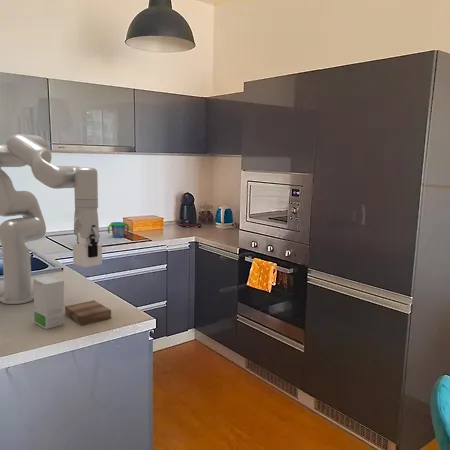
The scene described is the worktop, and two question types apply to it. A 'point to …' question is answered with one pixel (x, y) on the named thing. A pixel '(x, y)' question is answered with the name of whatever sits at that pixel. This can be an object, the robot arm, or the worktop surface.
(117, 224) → the snack cup
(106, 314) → the block
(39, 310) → the skincare box
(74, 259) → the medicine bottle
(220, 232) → the worktop surface
